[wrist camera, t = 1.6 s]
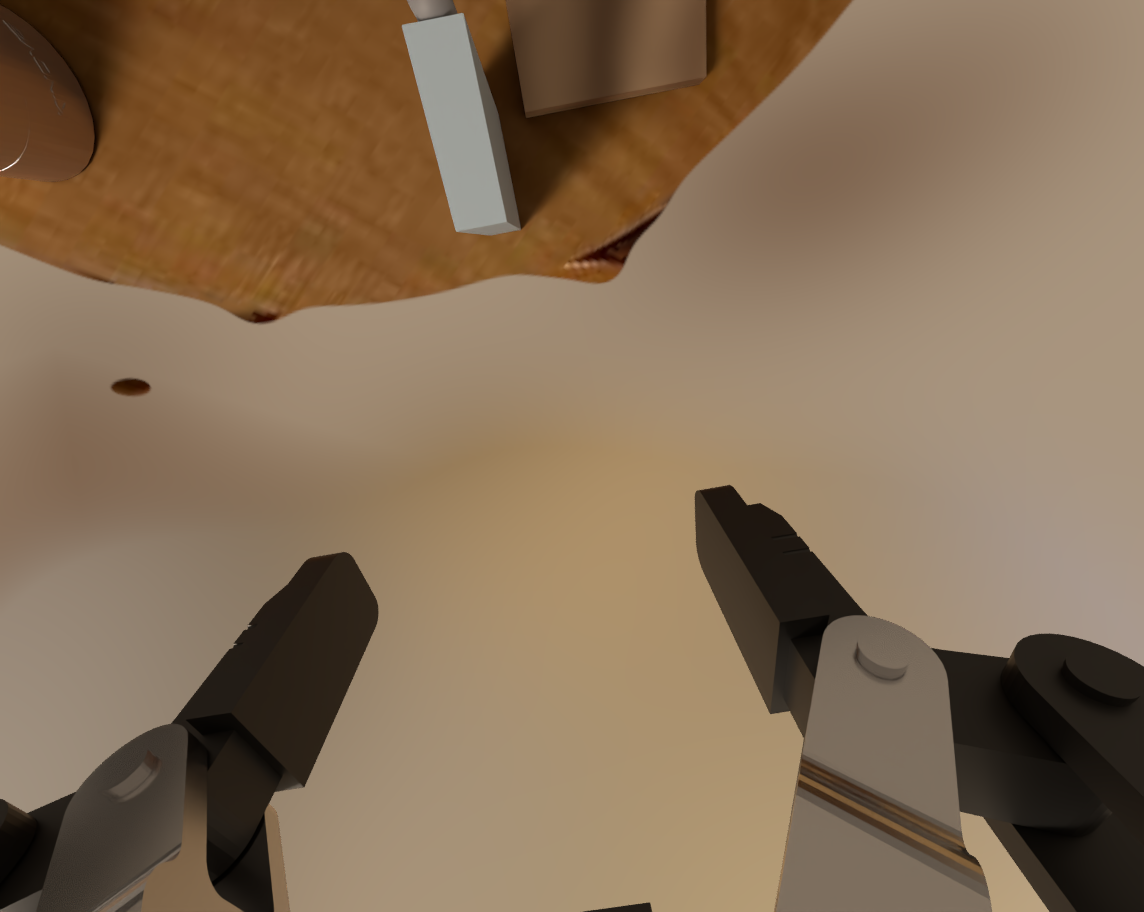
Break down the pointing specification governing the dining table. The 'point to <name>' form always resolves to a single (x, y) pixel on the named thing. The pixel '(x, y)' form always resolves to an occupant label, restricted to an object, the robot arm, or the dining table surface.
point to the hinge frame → (604, 50)
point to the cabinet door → (461, 119)
